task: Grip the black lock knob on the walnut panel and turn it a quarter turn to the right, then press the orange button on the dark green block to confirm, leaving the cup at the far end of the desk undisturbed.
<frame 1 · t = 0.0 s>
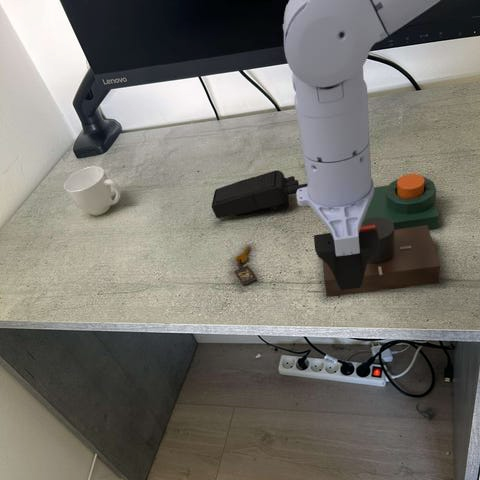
hand: (347, 261, 52), 11 cm above the table, tool pointing down, fingers open, 7 cm apart
cup: (105, 209, 93), on the table
knob: (376, 239, 62), point 5 cm above the table, hinge at 0.0°
walkie-talkie: (276, 206, 81), on the table
lock panel: (377, 269, 66), on the table
key tag: (248, 267, 72), on the table
button: (410, 186, 68), point 4 cm above the table, slide at 0.1 cm
button block: (395, 214, 72), on the table
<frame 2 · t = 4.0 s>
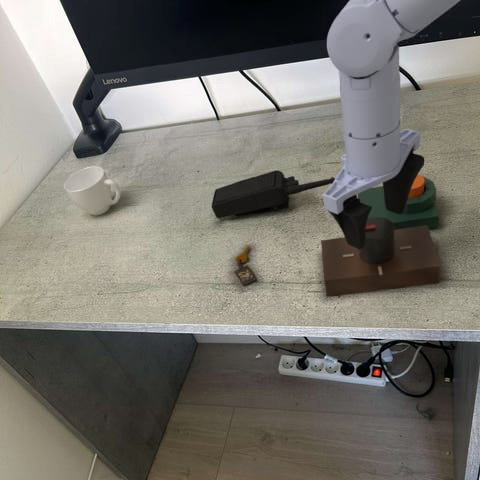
hand: (375, 227, 61), 7 cm above the table, tool pointing down, fingers open, 7 cm apart
nothing on the table moved.
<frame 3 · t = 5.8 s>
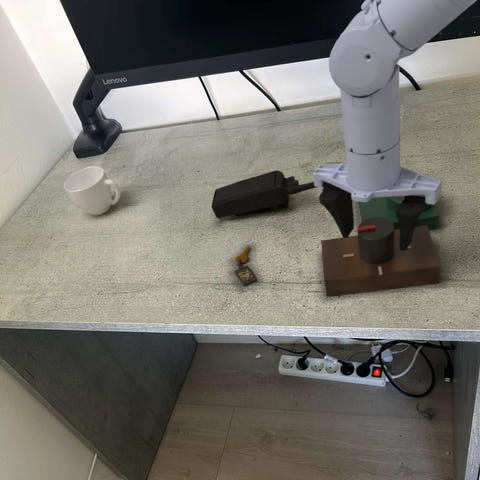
hand: (376, 238, 62), 5 cm above the table, tool pointing down, fingers open, 7 cm apart
nothing on the table moved.
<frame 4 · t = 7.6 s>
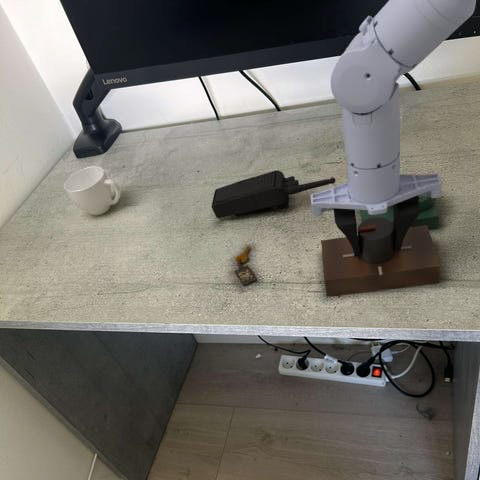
hand: (376, 248, 63), 4 cm above the table, tool pointing down, fingers closed on knob, 4 cm apart
knob: (376, 239, 62), point 5 cm above the table, hinge at -0.1°, touching gripper
everything else where it was.
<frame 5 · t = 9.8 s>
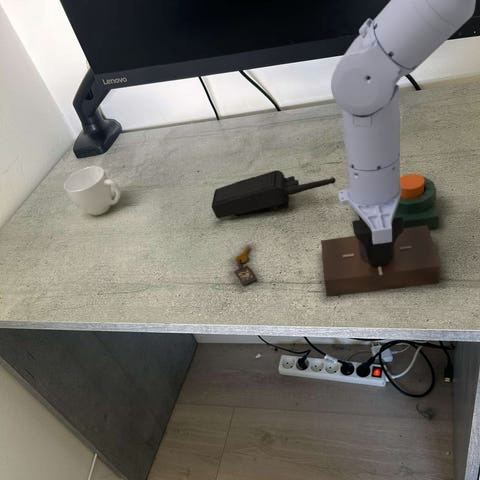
hand: (376, 249, 63), 3 cm above the table, tool pointing down, fingers closed on knob, 4 cm apart
knob: (376, 239, 62), point 5 cm above the table, hinge at -89.7°, touching gripper
everything else where it was.
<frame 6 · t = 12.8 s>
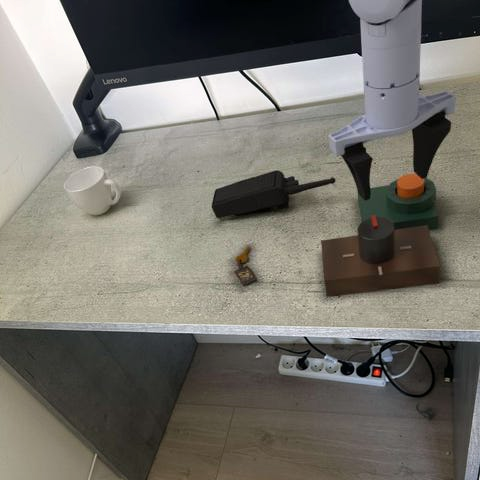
hand: (392, 185, 61), 9 cm above the table, tool pointing down, fingers open, 7 cm apart
knob: (376, 239, 62), point 5 cm above the table, hinge at -89.3°
everything else where it was.
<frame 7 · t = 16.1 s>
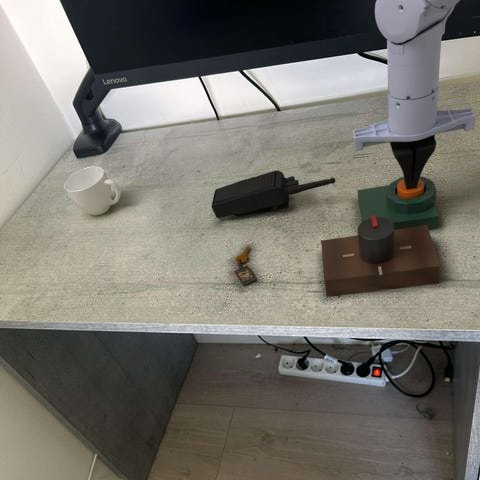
hand: (410, 185, 68), 5 cm above the table, tool pointing down, fingers closed, pressing on button
button: (410, 190, 69), point 4 cm above the table, slide at -0.5 cm, touching gripper
everything else where it was.
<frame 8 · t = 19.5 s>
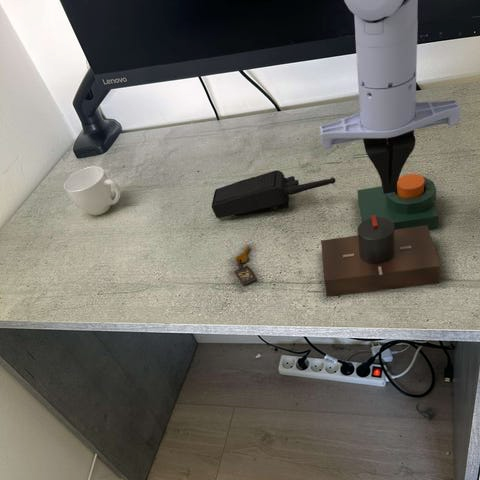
hand: (388, 188, 60), 10 cm above the table, tool pointing down, fingers closed
button: (410, 186, 68), point 4 cm above the table, slide at 0.1 cm
everything else where it was.
at the end: knob at -89° (first picture: +0°); button pushed in 1.2 cm at the most during the clip, back to where it started at the end; cup moved 0.2 cm from its start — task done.
